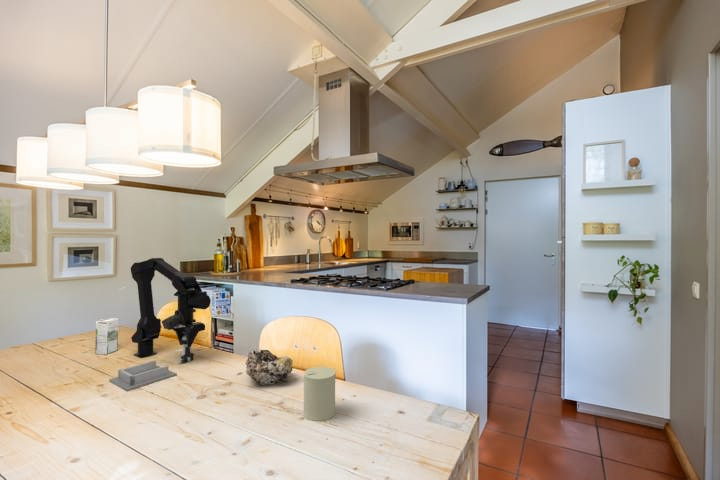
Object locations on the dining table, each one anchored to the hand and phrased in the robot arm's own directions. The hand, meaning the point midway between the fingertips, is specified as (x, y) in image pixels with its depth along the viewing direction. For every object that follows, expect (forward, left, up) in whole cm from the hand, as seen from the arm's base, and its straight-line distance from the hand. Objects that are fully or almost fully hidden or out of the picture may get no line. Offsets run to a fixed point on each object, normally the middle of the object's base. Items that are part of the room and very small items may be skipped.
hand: (185, 346), depth 136 cm
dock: (+4, -17, -6) cm, 19 cm away
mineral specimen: (+42, +6, -7) cm, 43 cm away
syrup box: (-39, -13, -7) cm, 42 cm away
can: (+71, 0, -7) cm, 71 cm away
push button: (0, 0, -6) cm, 7 cm away
